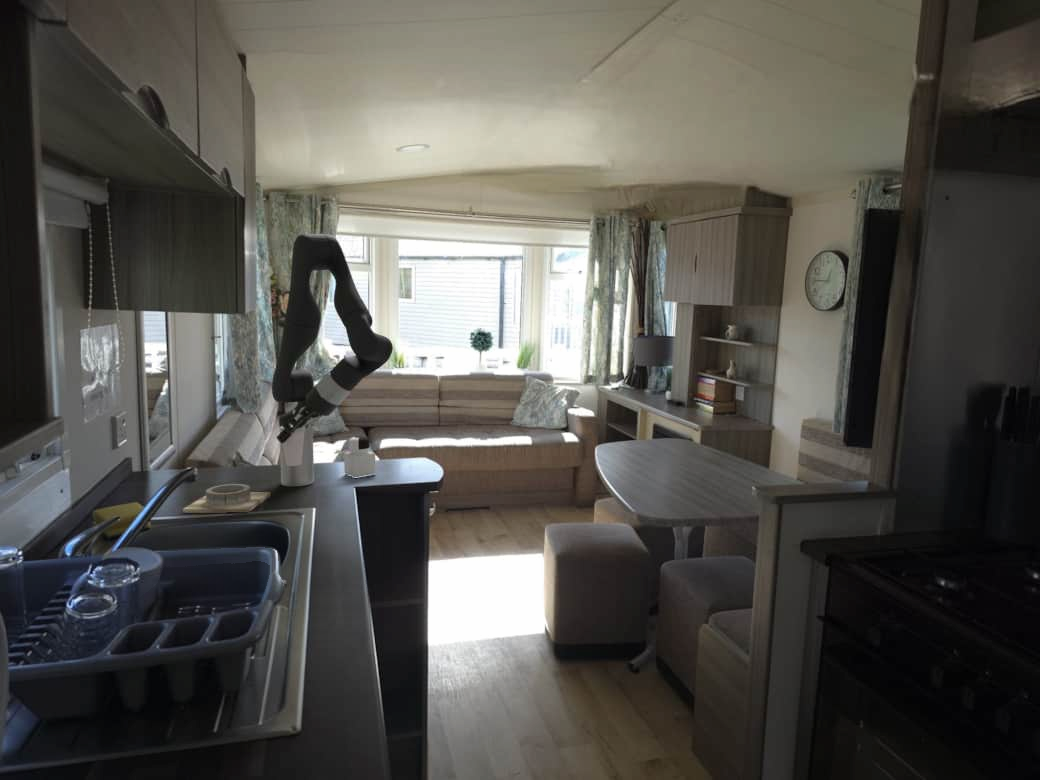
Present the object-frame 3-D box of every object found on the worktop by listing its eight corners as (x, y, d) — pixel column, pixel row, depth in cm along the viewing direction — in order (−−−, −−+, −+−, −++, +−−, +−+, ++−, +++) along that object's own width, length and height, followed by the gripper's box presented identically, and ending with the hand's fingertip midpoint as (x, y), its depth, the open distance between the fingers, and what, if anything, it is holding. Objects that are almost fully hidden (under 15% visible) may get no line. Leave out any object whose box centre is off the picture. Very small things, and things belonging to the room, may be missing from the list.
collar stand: (211, 495, 182) (210, 481, 182) (270, 495, 182) (270, 481, 182) (183, 512, 166) (182, 497, 166) (247, 512, 167) (247, 497, 166)
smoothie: (298, 467, 167) (297, 412, 165) (275, 466, 168) (273, 411, 166) (311, 462, 173) (310, 408, 171) (289, 460, 174) (287, 407, 173)
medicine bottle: (365, 471, 212) (364, 434, 210) (375, 475, 206) (375, 437, 205) (344, 474, 207) (343, 436, 206) (354, 479, 202) (353, 440, 200)
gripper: (331, 379, 174) (290, 422, 177) (305, 385, 160) (261, 432, 163) (351, 400, 174) (309, 443, 177) (326, 408, 160) (282, 454, 163)
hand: (286, 437), depth 170 cm, fingers closed on smoothie, 6 cm apart
